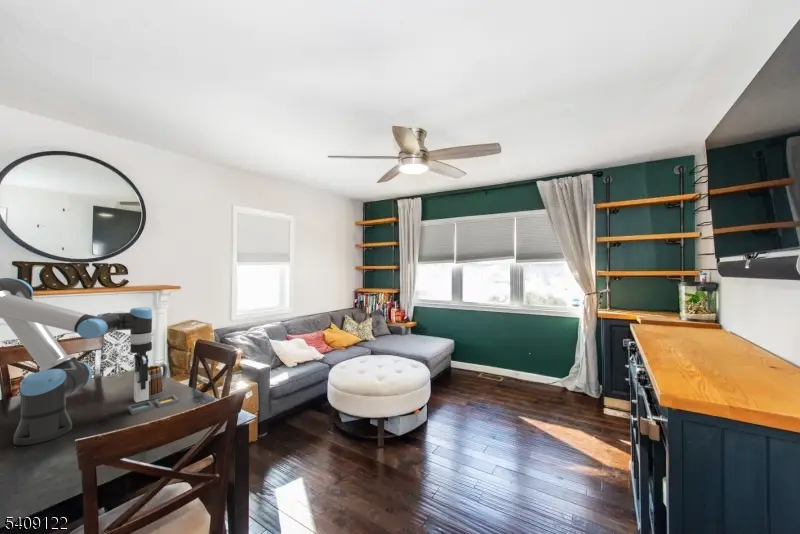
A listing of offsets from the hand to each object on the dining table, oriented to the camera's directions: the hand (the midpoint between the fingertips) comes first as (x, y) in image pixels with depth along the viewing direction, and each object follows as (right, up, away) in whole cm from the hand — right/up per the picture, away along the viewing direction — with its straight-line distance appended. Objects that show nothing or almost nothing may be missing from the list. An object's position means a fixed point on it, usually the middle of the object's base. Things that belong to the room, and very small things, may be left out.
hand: (141, 394), depth 145 cm
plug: (0, -2, 0) cm, 2 cm away
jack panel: (+3, -7, +4) cm, 9 cm away
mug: (-6, -7, +16) cm, 19 cm away
